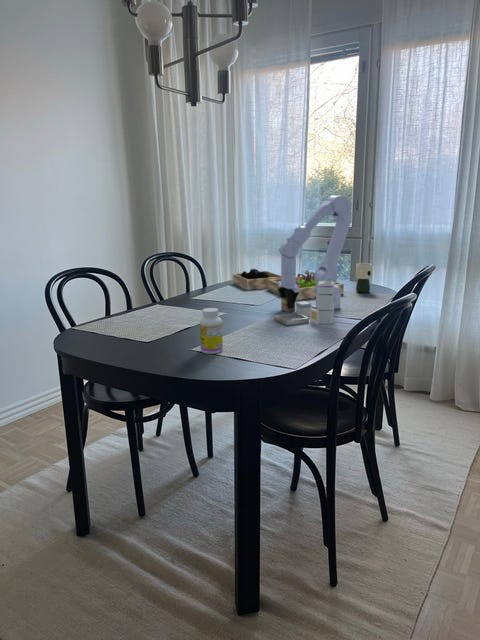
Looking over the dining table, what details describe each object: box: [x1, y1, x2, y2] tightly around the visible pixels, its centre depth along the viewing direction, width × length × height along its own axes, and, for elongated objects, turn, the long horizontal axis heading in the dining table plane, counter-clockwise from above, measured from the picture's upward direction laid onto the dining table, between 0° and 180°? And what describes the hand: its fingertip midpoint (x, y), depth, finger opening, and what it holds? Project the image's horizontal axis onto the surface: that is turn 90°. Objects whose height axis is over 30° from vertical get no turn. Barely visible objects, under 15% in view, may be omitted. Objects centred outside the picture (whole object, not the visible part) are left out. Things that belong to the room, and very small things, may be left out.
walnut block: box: [280, 297, 296, 313], centre depth 188 cm, size 4×4×5 cm
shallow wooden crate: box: [232, 270, 281, 291], centre depth 240 cm, size 20×20×5 cm
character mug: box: [355, 262, 373, 293], centre depth 218 cm, size 11×7×13 cm, turn 153°
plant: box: [296, 269, 317, 288], centre depth 219 cm, size 20×20×11 cm
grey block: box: [295, 300, 312, 317], centre depth 180 cm, size 4×4×5 cm
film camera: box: [241, 268, 270, 280], centre depth 237 cm, size 15×10×9 cm, turn 68°
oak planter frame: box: [267, 274, 345, 301], centre depth 221 cm, size 26×26×5 cm
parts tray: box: [274, 311, 310, 327], centre depth 173 cm, size 9×9×2 cm
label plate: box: [309, 307, 320, 326], centre depth 169 cm, size 1×5×5 cm, turn 23°
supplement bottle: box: [199, 307, 224, 355], centre depth 141 cm, size 7×7×13 cm
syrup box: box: [316, 281, 335, 325], centre depth 170 cm, size 6×6×14 cm
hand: (288, 306), depth 189 cm, fingers closed on walnut block, 4 cm apart
